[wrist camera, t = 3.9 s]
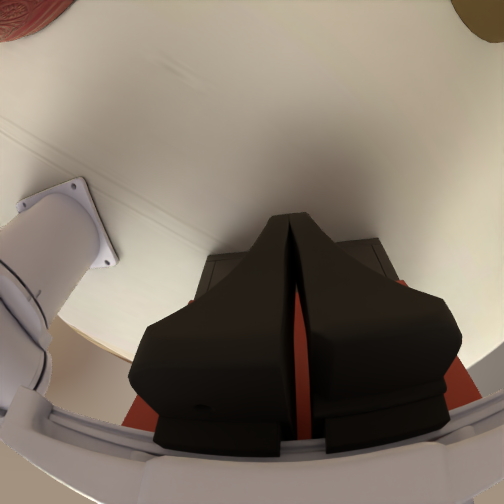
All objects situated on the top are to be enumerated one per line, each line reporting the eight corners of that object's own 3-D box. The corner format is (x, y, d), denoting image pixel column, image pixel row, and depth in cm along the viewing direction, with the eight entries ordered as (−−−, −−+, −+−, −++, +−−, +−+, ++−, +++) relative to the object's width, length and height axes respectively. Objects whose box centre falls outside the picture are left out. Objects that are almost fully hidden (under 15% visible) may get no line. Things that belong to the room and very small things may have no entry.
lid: (500, 469, 4) (512, 457, 3) (102, 494, 5) (90, 485, 5) (402, 291, 15) (403, 279, 15) (193, 311, 17) (189, 299, 16)
